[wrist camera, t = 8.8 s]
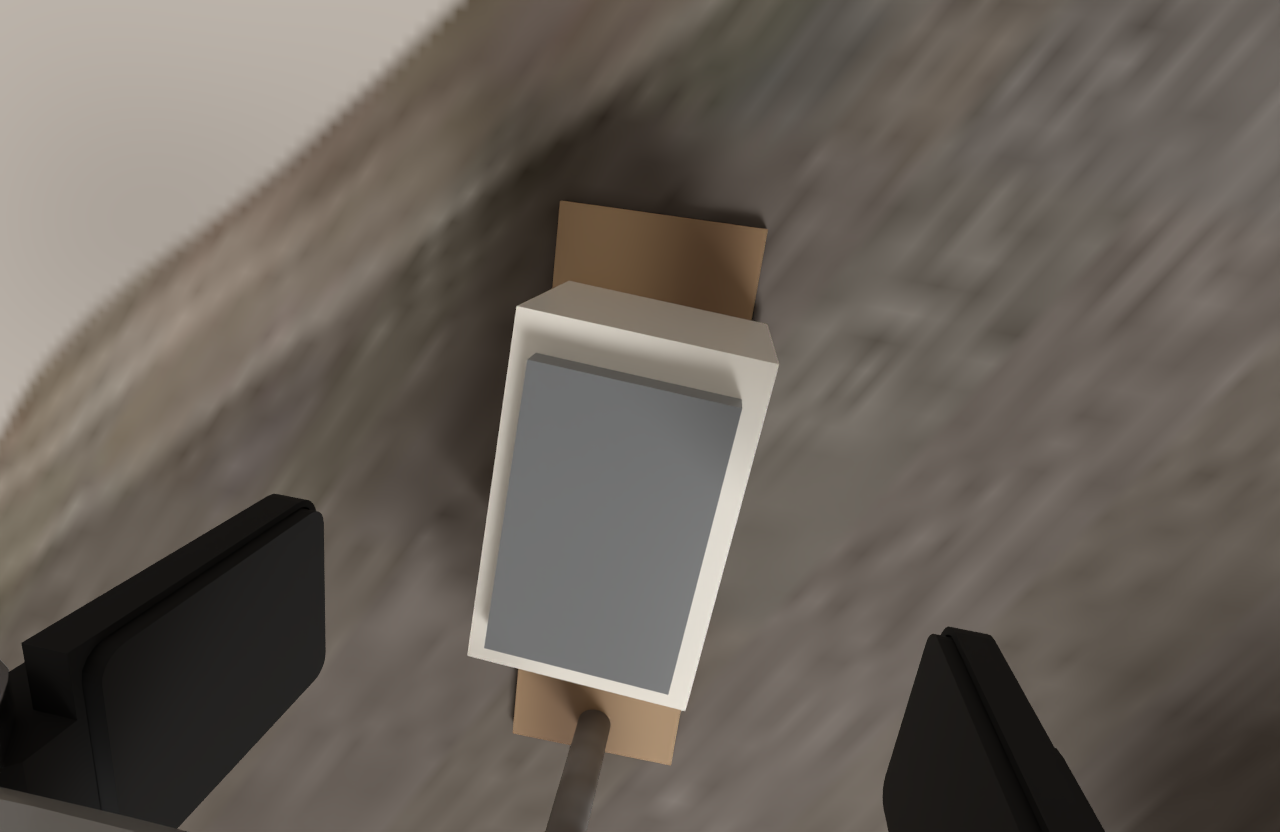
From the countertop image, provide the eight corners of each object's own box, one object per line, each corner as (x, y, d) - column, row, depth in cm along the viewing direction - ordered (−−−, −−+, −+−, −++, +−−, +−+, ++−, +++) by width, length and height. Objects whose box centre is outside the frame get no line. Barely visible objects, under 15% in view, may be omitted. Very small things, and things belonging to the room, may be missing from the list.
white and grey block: (767, 324, 17) (781, 371, 12) (695, 601, 19) (683, 730, 15) (569, 280, 17) (506, 310, 12) (523, 559, 20) (456, 673, 15)
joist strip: (766, 229, 16) (767, 229, 16) (671, 758, 21) (671, 765, 21) (562, 200, 17) (560, 200, 17) (515, 726, 22) (512, 733, 21)
